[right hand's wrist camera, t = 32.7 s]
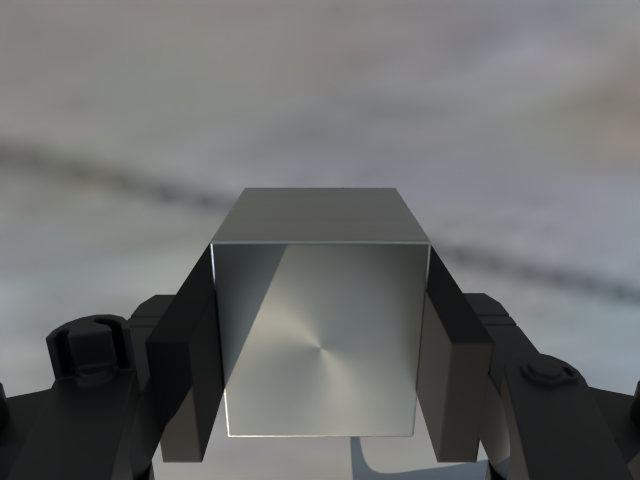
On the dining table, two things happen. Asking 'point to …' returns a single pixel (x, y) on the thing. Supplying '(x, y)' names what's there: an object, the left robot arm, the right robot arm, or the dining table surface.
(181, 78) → the dining table surface
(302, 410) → the metal block
